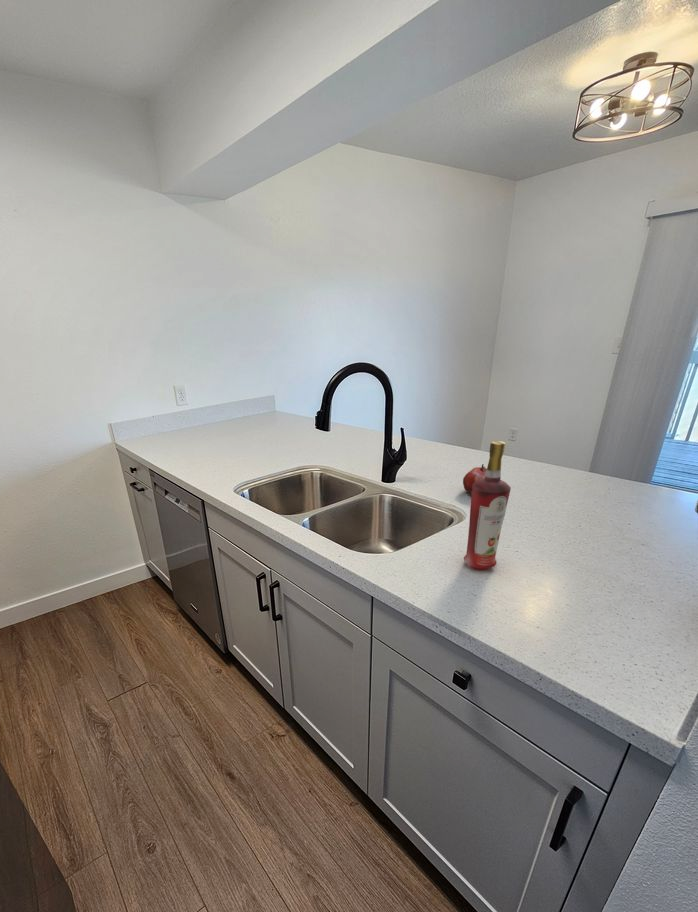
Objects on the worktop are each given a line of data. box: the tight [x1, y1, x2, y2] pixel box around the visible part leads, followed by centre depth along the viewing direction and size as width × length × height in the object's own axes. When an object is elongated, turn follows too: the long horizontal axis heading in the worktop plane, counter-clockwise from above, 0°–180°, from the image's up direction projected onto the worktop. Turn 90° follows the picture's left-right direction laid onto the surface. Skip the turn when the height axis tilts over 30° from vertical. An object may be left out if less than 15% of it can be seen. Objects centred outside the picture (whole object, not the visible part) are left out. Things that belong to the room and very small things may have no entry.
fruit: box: [462, 463, 487, 494], centre depth 135 cm, size 9×10×10 cm
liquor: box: [463, 440, 512, 571], centre depth 92 cm, size 7×7×28 cm
